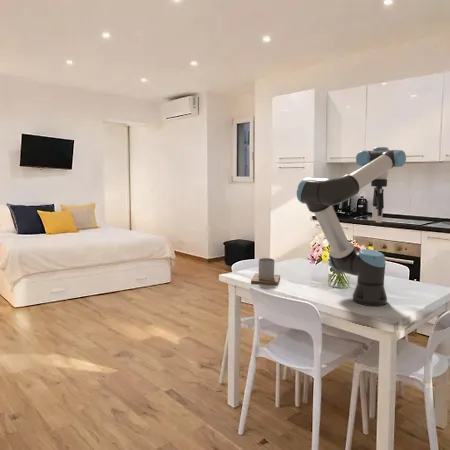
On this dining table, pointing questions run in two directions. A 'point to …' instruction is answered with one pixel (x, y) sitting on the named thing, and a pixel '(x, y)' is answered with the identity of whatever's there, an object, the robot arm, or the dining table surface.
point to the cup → (266, 268)
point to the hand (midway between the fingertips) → (376, 220)
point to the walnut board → (260, 281)
